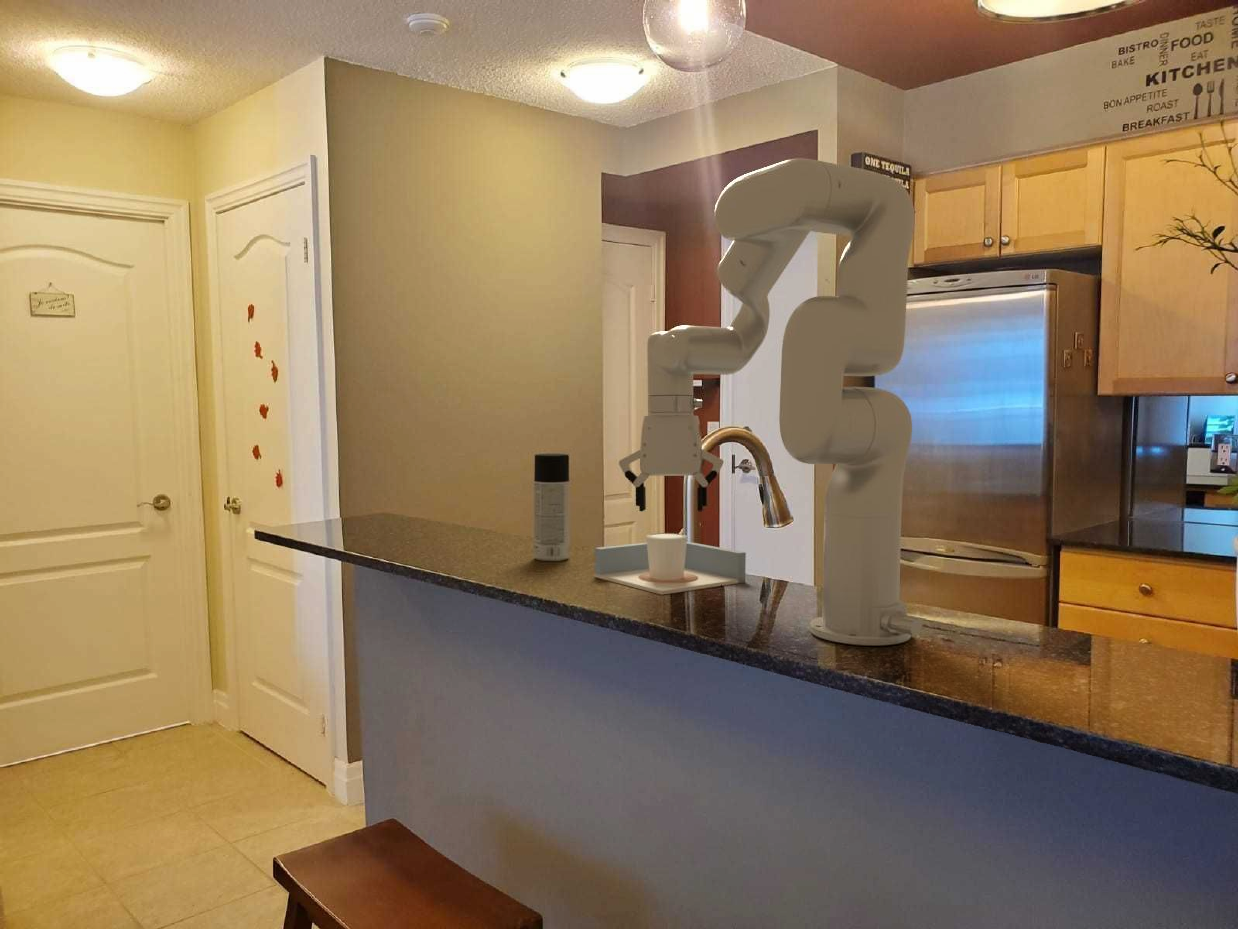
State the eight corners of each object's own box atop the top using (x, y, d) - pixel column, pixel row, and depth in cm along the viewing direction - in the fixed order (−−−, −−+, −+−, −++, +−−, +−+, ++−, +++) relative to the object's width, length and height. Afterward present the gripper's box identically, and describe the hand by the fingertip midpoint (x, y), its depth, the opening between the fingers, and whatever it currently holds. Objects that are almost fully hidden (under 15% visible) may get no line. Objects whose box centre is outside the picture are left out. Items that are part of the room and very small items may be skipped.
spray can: (576, 558, 176) (576, 454, 175) (555, 563, 170) (555, 455, 169) (548, 555, 179) (548, 453, 178) (526, 559, 174) (526, 454, 172)
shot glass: (667, 571, 158) (668, 531, 157) (695, 577, 152) (696, 535, 152) (637, 576, 153) (637, 534, 153) (665, 582, 148) (665, 539, 148)
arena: (745, 582, 153) (745, 552, 152) (661, 594, 142) (661, 562, 142) (675, 566, 167) (675, 539, 167) (594, 577, 156) (594, 548, 156)
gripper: (723, 407, 154) (724, 509, 154) (621, 408, 156) (622, 508, 157) (722, 406, 146) (723, 513, 147) (615, 407, 149) (616, 512, 149)
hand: (671, 510), depth 152 cm, fingers open, 9 cm apart
